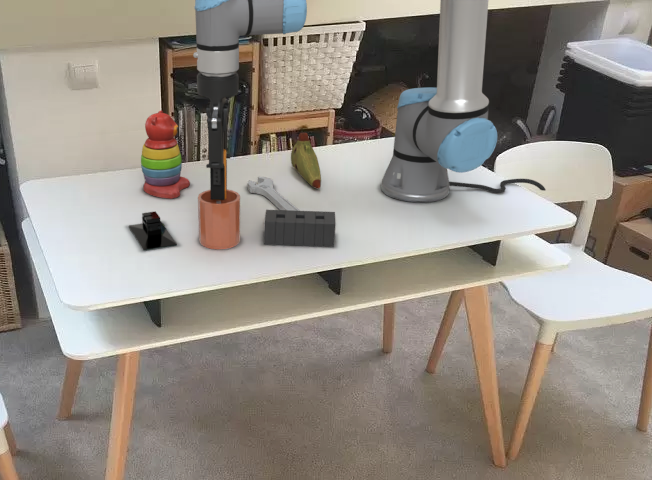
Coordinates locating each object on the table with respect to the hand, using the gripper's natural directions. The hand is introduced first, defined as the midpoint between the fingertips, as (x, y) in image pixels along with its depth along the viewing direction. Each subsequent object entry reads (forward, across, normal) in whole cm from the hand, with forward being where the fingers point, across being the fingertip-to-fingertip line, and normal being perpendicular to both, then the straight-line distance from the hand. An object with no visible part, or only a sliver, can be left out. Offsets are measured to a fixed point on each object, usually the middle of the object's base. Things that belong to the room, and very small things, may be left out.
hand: (218, 195), depth 149 cm
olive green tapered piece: (+10, -37, +17) cm, 42 cm away
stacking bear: (+10, -27, -16) cm, 33 cm away
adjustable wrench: (+10, -21, +10) cm, 25 cm away
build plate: (+10, -1, -14) cm, 17 cm away
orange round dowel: (+7, 0, 0) cm, 7 cm away
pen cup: (+10, 0, 0) cm, 10 cm away
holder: (+10, -2, +16) cm, 19 cm away
